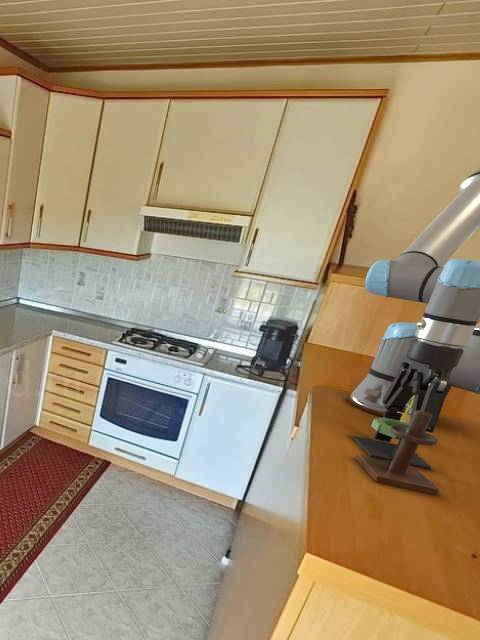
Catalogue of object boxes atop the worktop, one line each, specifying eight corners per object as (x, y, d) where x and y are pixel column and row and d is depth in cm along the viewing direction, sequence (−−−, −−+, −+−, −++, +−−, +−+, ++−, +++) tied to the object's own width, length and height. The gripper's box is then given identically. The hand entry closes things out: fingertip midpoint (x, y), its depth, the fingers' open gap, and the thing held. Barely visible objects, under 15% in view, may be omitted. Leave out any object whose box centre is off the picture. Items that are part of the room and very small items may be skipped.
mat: (352, 437, 107) (352, 435, 106) (406, 448, 104) (407, 446, 103) (370, 456, 98) (371, 454, 97) (430, 469, 95) (431, 467, 95)
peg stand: (356, 460, 95) (382, 399, 91) (411, 472, 93) (441, 409, 88) (375, 481, 87) (405, 416, 83) (436, 495, 85) (470, 428, 80)
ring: (365, 421, 104) (368, 414, 104) (412, 430, 102) (415, 423, 101) (382, 436, 97) (385, 429, 96) (433, 446, 94) (437, 439, 94)
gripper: (390, 328, 103) (351, 425, 111) (444, 352, 84) (391, 467, 92) (433, 335, 101) (390, 433, 109) (498, 361, 82) (440, 477, 90)
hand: (390, 448), depth 100 cm, fingers closed on ring, 8 cm apart
